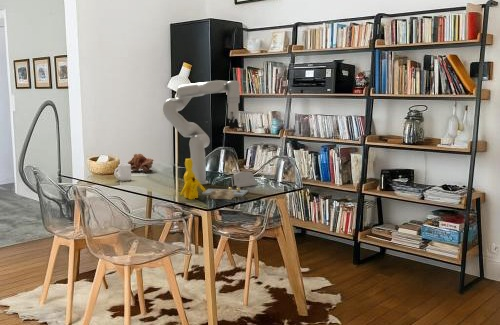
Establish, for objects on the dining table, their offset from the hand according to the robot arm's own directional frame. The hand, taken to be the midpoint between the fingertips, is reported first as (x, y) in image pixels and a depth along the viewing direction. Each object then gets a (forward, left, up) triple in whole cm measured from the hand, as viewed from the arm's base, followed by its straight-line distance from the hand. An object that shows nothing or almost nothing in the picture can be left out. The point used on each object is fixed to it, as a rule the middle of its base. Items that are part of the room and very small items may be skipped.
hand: (233, 128), depth 326 cm
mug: (-78, +2, -37) cm, 86 cm away
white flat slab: (+2, -28, -36) cm, 46 cm away
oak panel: (+4, -41, -36) cm, 55 cm away
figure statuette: (-13, -45, -37) cm, 59 cm away
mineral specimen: (-83, +42, -37) cm, 100 cm away
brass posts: (+7, -28, -35) cm, 45 cm away
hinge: (+6, +1, -37) cm, 37 cm away
